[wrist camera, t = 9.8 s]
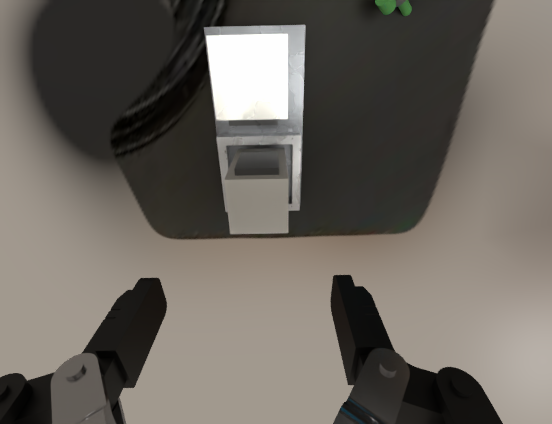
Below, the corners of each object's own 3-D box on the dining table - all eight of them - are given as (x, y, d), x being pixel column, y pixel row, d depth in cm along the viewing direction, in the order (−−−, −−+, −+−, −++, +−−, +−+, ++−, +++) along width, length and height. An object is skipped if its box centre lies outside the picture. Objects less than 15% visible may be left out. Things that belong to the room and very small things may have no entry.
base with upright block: (206, 28, 22) (169, 8, 14) (304, 26, 22) (320, 5, 14) (227, 203, 30) (210, 252, 22) (299, 201, 30) (309, 250, 22)
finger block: (284, 142, 26) (288, 172, 19) (284, 191, 28) (288, 233, 21) (237, 143, 26) (223, 173, 19) (241, 191, 28) (230, 234, 21)
